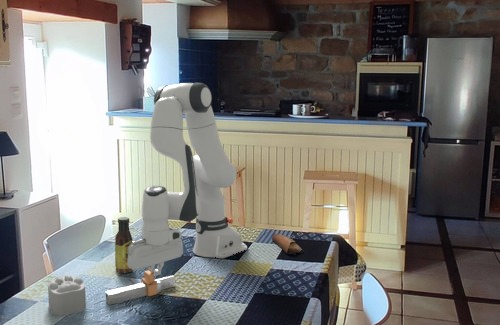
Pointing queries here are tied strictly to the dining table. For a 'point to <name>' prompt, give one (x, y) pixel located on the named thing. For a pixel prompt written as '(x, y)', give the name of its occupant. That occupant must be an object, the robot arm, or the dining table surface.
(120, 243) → the sauce bottle
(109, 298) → the bar
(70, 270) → the dining table surface
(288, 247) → the brown tapered cylinder
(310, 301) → the dining table surface
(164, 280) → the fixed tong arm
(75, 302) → the lumpy-topped squat cylinder
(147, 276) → the collar
